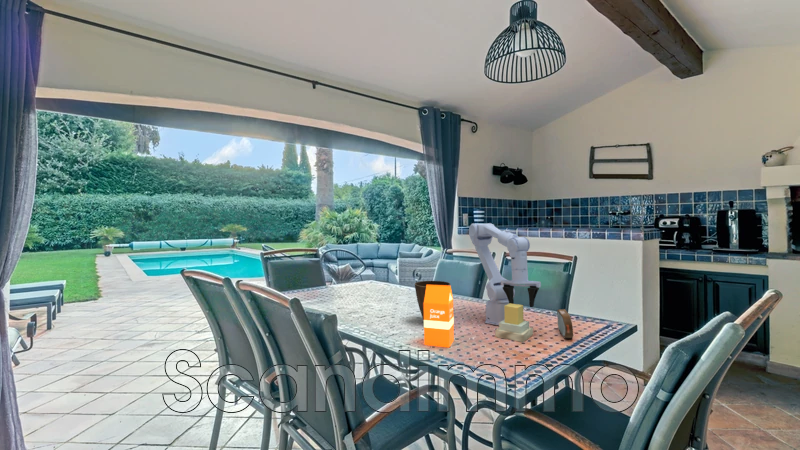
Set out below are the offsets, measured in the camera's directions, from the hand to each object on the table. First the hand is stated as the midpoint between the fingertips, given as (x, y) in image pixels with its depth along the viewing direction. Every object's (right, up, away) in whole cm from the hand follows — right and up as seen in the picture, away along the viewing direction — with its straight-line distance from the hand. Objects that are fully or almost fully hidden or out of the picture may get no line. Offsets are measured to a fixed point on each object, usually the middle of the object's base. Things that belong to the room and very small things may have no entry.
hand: (521, 305), depth 132 cm
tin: (+15, -10, -3) cm, 18 cm away
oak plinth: (-4, -10, -4) cm, 11 cm away
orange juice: (-32, -11, -9) cm, 35 cm away
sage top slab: (-4, -8, -4) cm, 9 cm away
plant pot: (-31, -11, +16) cm, 37 cm away
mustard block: (-4, -5, -4) cm, 7 cm away
